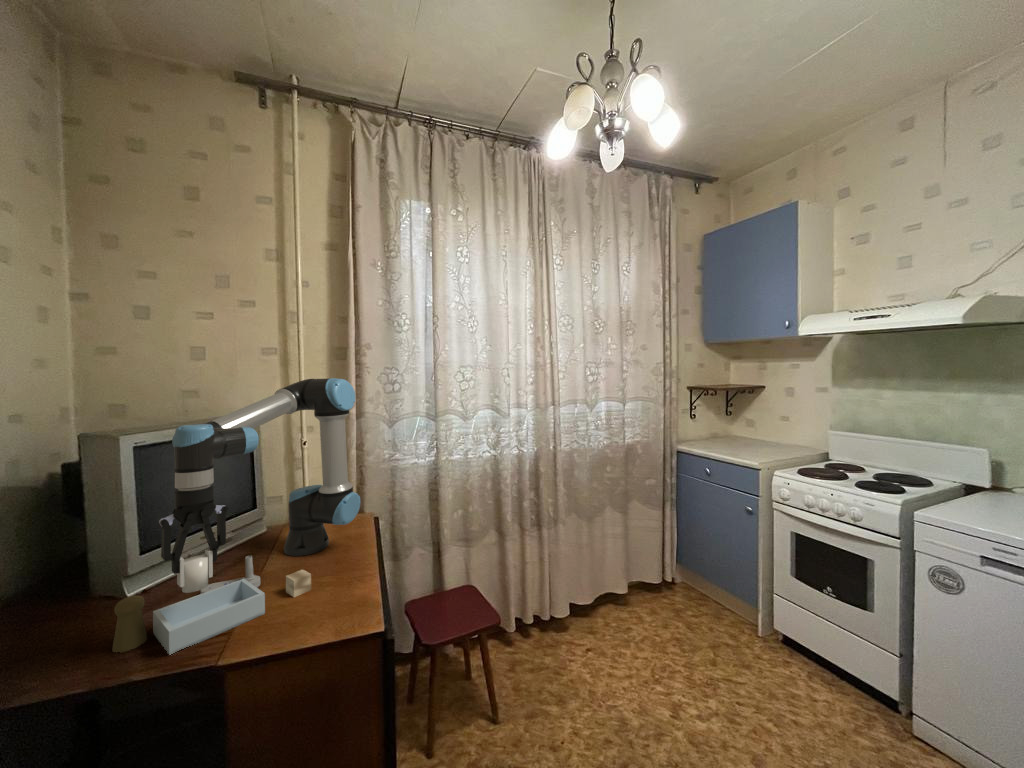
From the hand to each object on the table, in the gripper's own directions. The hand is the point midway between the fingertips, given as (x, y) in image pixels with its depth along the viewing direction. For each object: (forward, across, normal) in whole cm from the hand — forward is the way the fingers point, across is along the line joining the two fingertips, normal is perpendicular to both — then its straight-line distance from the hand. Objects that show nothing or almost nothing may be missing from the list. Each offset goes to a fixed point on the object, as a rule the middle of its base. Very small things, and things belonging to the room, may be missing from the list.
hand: (195, 580), depth 96 cm
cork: (+14, +10, -9) cm, 20 cm away
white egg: (+2, 0, 0) cm, 2 cm away
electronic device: (+14, -13, -18) cm, 26 cm away
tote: (+14, -4, -3) cm, 15 cm away
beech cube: (+14, -25, 0) cm, 29 cm away
